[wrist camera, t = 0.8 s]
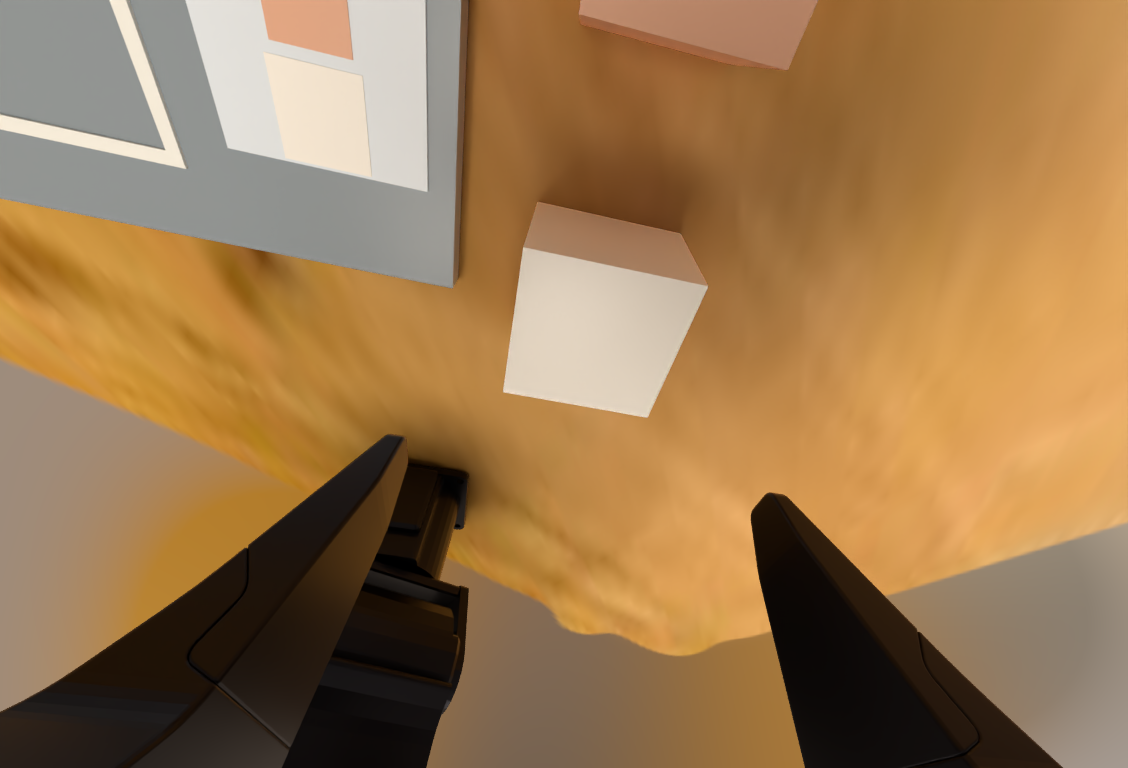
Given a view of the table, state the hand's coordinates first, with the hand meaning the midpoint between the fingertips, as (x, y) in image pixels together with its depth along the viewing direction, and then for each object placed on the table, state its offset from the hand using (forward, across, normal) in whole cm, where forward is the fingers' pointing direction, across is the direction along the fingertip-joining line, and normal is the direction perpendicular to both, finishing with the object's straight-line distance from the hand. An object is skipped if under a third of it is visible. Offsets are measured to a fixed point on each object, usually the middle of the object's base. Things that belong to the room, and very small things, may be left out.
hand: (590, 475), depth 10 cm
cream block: (+11, 0, 0) cm, 11 cm away
